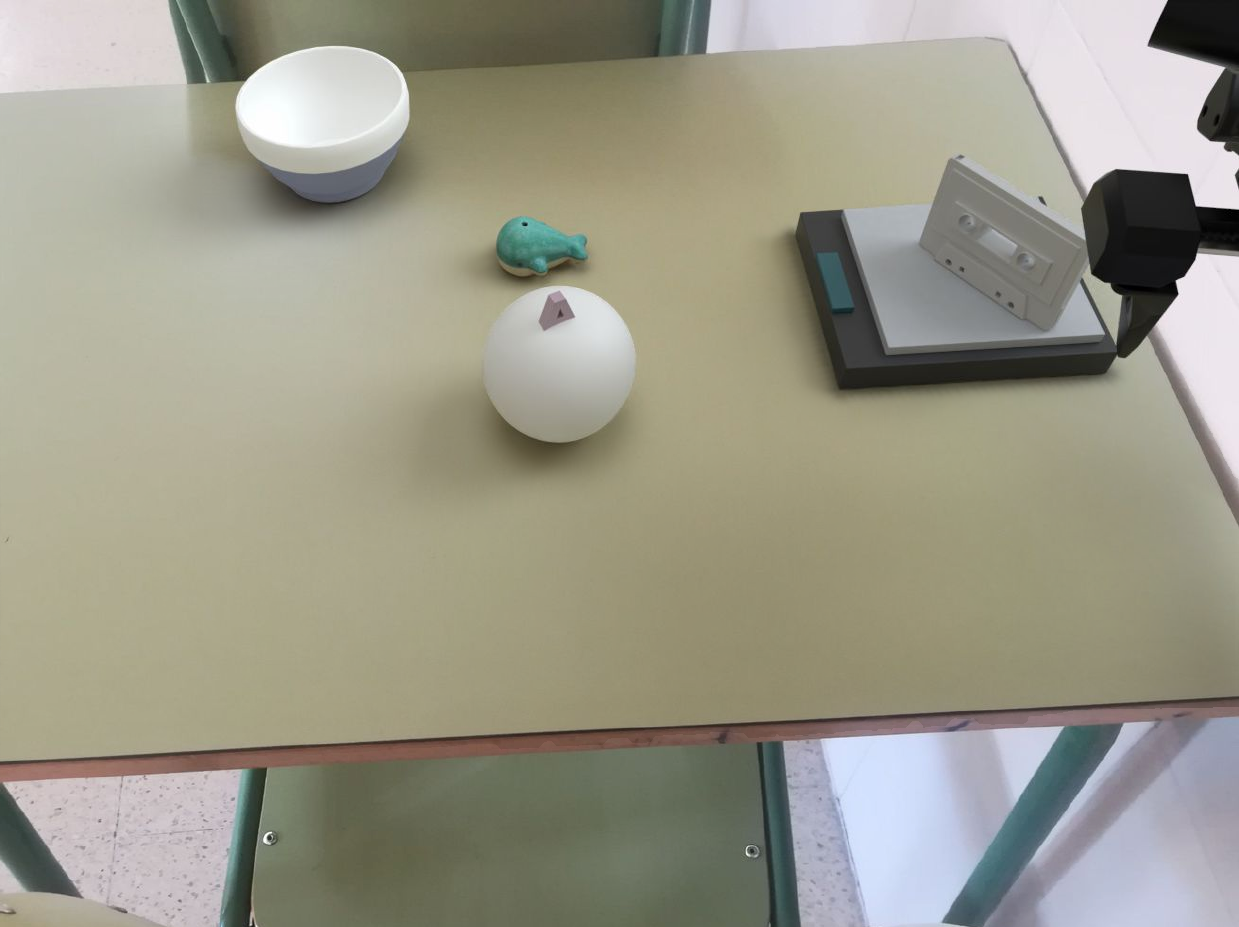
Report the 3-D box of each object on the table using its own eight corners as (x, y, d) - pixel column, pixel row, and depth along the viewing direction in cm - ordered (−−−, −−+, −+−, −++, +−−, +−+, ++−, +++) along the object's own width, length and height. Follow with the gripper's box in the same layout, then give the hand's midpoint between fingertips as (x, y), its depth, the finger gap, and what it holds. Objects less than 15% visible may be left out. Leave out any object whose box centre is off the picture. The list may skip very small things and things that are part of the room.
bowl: (427, 213, 89) (417, 134, 83) (258, 238, 89) (235, 160, 82) (408, 113, 97) (397, 34, 91) (252, 136, 97) (231, 58, 90)
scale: (1032, 218, 84) (1046, 187, 82) (1106, 373, 75) (1125, 343, 73) (794, 234, 85) (802, 203, 83) (839, 389, 76) (848, 360, 73)
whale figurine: (499, 237, 87) (496, 199, 84) (587, 237, 86) (588, 198, 83) (495, 286, 84) (492, 248, 81) (587, 286, 83) (588, 247, 80)
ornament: (566, 494, 72) (568, 372, 62) (459, 421, 76) (444, 296, 66) (658, 408, 76) (673, 280, 66) (551, 343, 80) (550, 213, 70)
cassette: (1060, 325, 74) (1108, 237, 68) (1042, 336, 73) (1089, 249, 67) (929, 236, 80) (962, 147, 73) (912, 246, 79) (943, 158, 73)
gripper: (1577, 14, 48) (1359, 277, 61) (1140, -6, 51) (1021, 249, 64) (1673, 166, 42) (1410, 421, 55) (1174, 134, 45) (1035, 383, 58)
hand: (1208, 360), depth 58 cm, fingers open, 9 cm apart
